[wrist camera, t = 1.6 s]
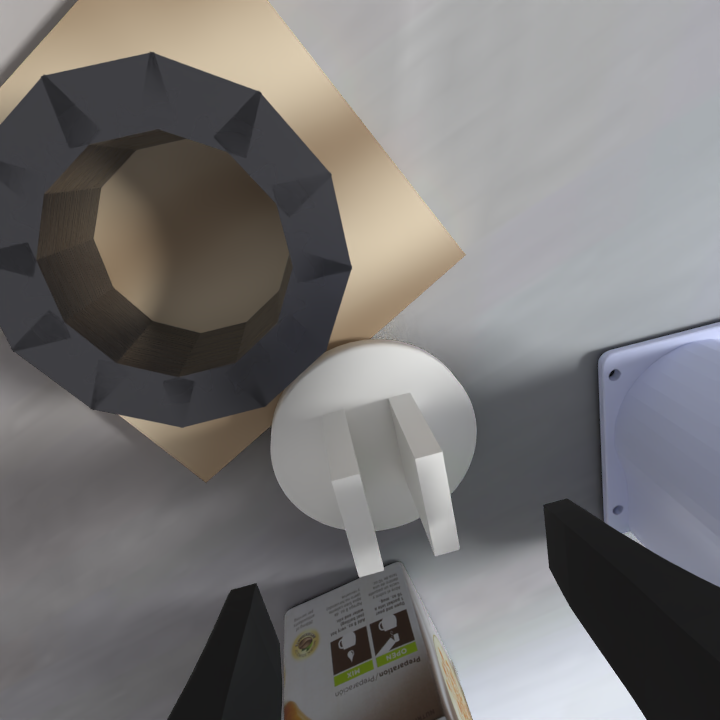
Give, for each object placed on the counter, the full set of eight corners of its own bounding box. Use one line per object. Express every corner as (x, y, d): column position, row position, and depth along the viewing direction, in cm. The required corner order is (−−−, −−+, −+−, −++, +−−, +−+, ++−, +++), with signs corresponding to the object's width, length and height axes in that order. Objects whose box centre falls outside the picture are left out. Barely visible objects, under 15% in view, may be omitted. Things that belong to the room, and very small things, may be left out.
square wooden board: (456, 250, 19) (465, 255, 18) (209, 468, 21) (206, 482, 20) (186, -96, 14) (179, -114, 13) (-101, 223, 16) (-125, 226, 15)
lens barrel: (358, 336, 18) (376, 378, 15) (111, 398, 18) (66, 457, 14) (294, 55, 15) (297, 19, 11) (-11, 122, 15) (-112, 108, 11)
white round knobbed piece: (467, 467, 22) (533, 578, 16) (299, 512, 22) (304, 643, 16) (441, 305, 20) (510, 368, 14) (248, 354, 19) (231, 440, 13)
